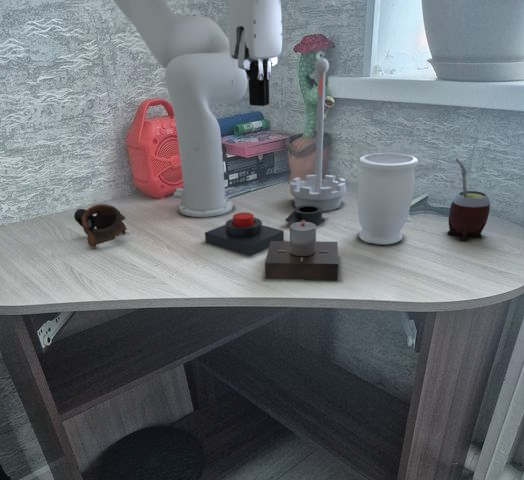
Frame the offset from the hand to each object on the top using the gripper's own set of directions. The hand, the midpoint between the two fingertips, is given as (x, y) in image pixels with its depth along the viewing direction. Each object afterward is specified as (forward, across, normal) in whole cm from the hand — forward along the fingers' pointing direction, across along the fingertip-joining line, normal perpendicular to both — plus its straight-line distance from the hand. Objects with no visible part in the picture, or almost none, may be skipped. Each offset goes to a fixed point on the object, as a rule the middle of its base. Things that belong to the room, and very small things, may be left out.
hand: (259, 104), depth 86 cm
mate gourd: (+24, -17, +36) cm, 46 cm away
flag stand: (+24, -23, +1) cm, 34 cm away
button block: (+24, +6, -1) cm, 25 cm away
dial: (+21, +11, +16) cm, 28 cm away
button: (+20, +6, -1) cm, 21 cm away
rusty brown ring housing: (+24, +18, -27) cm, 41 cm away
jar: (+24, -9, +22) cm, 34 cm away
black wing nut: (+24, -10, +5) cm, 27 cm away
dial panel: (+24, +11, +16) cm, 31 cm away
